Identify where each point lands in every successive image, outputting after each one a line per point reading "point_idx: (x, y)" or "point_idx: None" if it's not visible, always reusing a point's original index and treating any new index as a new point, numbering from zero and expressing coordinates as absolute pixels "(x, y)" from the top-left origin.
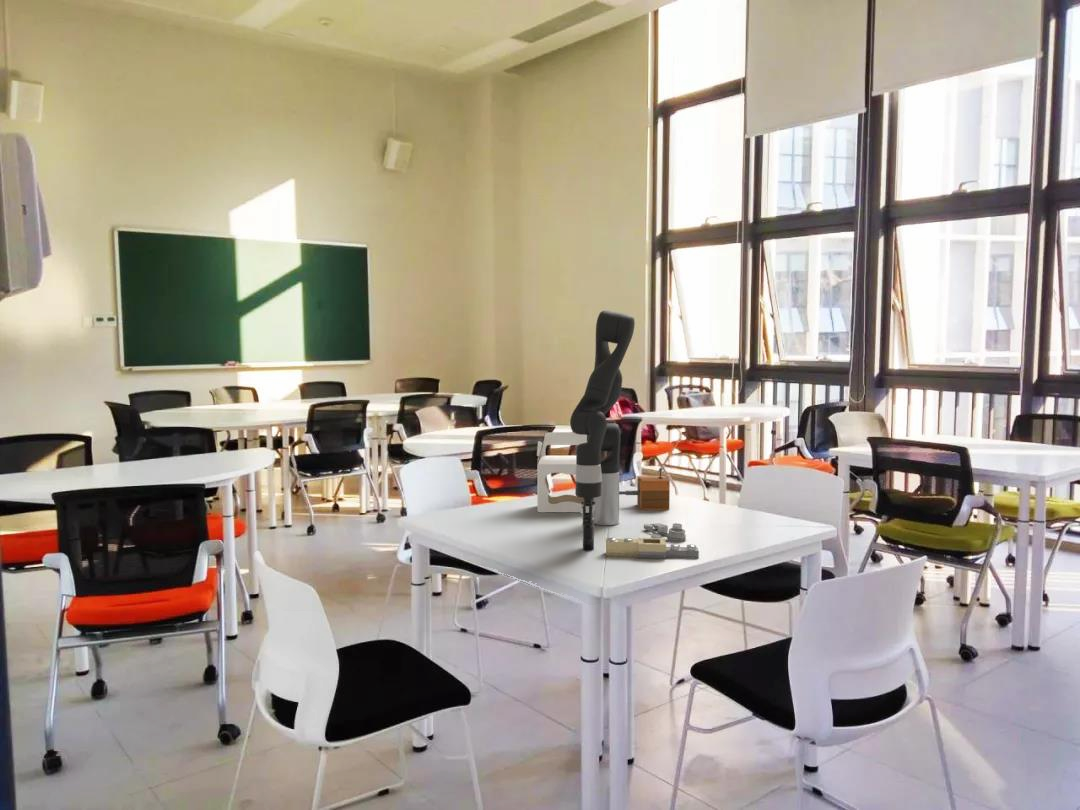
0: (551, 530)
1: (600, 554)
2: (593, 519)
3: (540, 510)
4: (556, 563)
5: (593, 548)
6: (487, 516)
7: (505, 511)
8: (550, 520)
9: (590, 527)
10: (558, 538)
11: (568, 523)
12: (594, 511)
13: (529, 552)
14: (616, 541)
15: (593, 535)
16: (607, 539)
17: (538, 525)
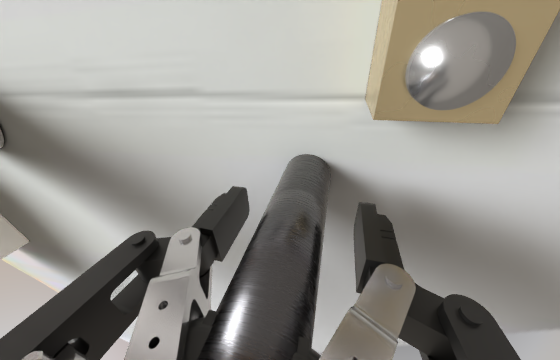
0: None
1: (404, 128)
2: (286, 275)
3: (20, 241)
4: (519, 287)
5: (315, 159)
6: None
7: (63, 277)
8: (58, 230)
9: (385, 267)
10: None
11: (50, 201)
12: (182, 313)
13: (348, 308)
14: (523, 16)
15: (306, 192)
16: (411, 110)
17: (108, 253)
